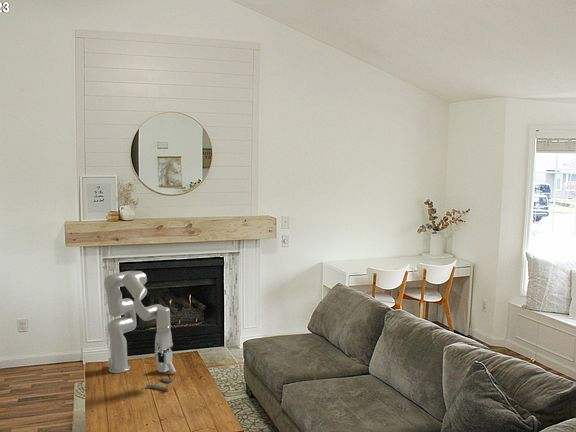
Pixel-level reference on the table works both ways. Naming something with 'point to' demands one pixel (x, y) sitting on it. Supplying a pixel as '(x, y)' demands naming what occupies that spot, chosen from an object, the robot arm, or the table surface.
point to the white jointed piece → (166, 367)
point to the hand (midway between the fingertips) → (164, 360)
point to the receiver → (168, 387)
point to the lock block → (166, 357)
